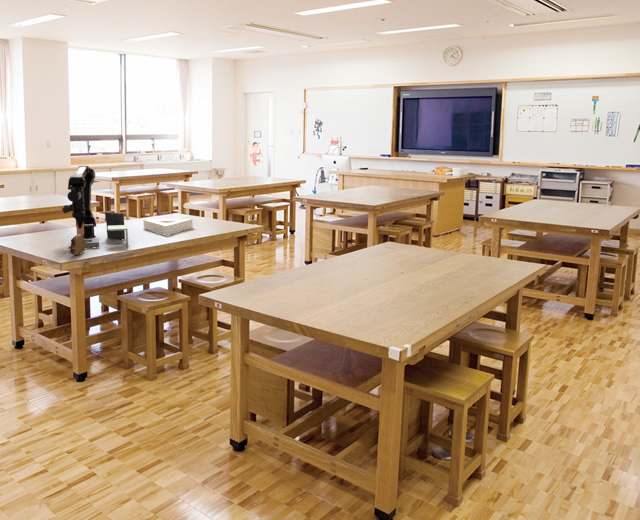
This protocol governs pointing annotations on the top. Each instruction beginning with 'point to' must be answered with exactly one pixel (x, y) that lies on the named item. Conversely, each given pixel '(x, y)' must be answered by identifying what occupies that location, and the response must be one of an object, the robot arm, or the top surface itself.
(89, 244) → the socket block
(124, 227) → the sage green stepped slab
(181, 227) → the white slab
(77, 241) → the wooden carving
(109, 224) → the black flat block
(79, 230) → the peg
